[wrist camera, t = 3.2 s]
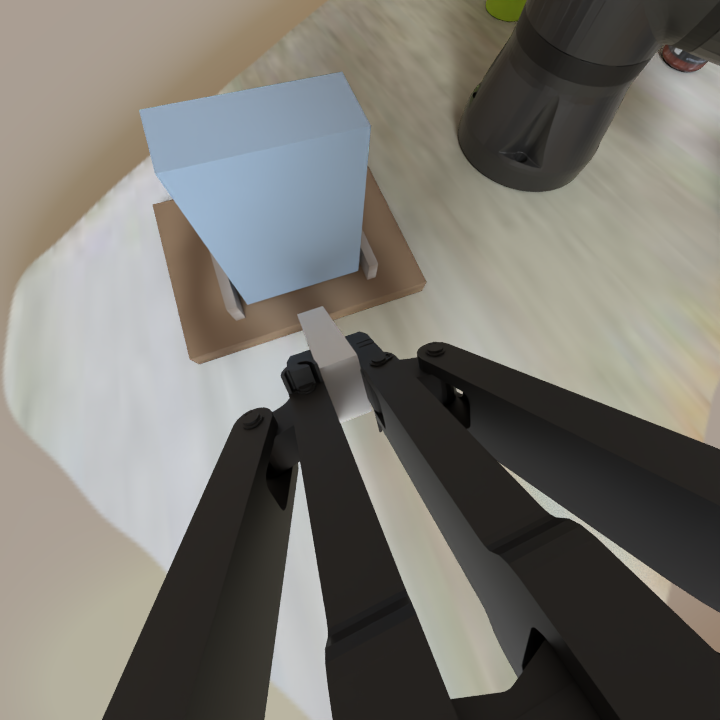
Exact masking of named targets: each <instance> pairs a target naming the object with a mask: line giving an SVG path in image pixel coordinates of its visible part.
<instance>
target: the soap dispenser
mask: <svg viewBox="0 0 720 720" xmlns="http://www.w3.org/2000/svg"><path fill="white" fill-rule="evenodd" d="M525 3H526V0H487V2H486V9H487V11H488V12H489V13H490V14H491V15H492V16H494V17H495V18H498V19H500V20H504V21H517V20H519V17H520V15H521V12H522V10H523V8H524V5H525Z"/></svg>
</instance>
